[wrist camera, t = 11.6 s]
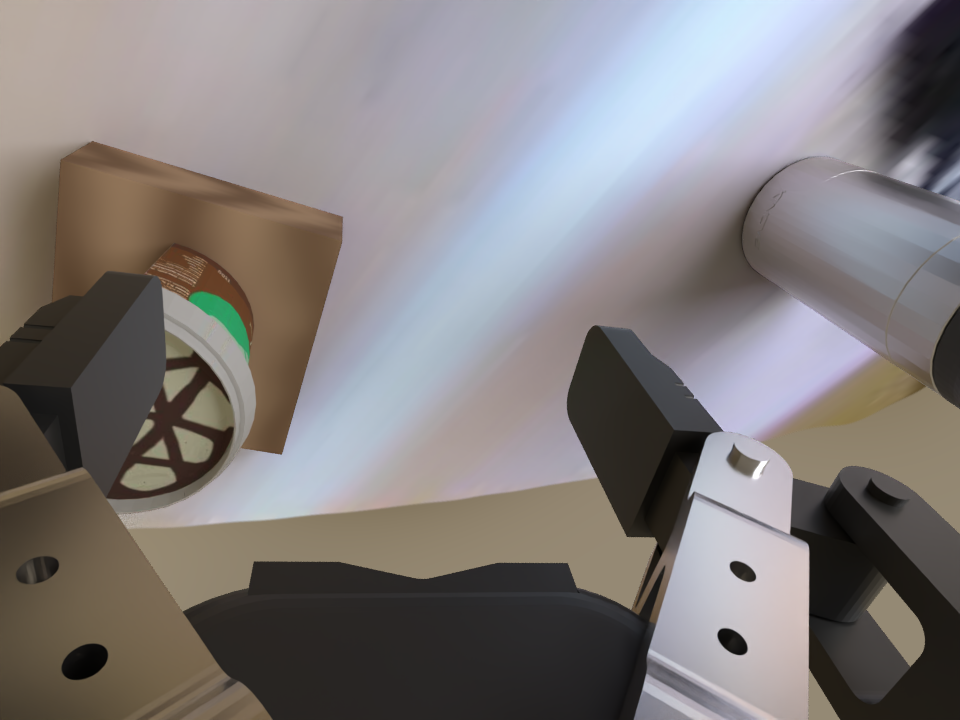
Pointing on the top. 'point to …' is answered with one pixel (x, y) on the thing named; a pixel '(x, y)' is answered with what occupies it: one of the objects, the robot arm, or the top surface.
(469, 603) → the robot arm
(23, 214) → the top surface
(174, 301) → the food container
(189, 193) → the walnut block
